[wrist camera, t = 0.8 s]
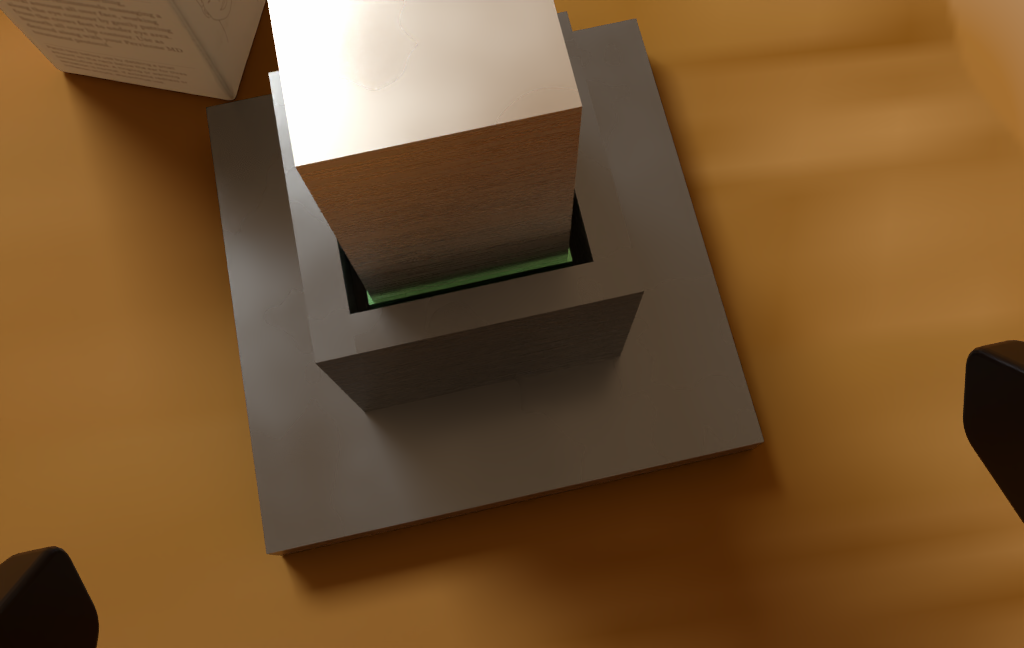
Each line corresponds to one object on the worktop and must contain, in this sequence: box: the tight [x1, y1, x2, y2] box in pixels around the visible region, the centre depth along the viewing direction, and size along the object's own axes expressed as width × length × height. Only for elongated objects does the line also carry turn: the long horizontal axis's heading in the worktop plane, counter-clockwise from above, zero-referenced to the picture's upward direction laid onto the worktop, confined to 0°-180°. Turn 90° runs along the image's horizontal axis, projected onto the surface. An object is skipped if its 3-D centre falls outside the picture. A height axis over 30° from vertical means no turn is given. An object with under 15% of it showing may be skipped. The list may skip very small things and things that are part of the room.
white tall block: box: [268, 0, 582, 310], centre depth 17 cm, size 4×4×10 cm
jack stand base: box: [206, 11, 764, 556], centre depth 21 cm, size 12×12×6 cm
